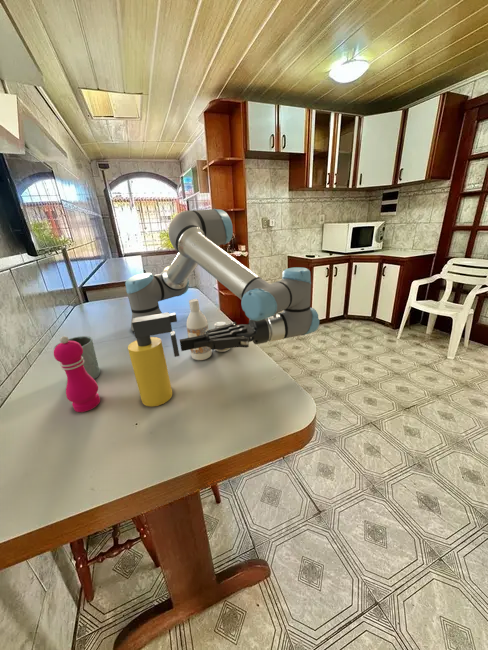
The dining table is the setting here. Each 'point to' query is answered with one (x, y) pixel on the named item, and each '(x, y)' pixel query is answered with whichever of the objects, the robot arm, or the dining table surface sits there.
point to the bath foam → (197, 330)
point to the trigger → (174, 343)
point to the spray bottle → (151, 358)
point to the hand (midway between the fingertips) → (180, 345)
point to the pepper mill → (76, 376)
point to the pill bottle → (217, 327)
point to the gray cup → (88, 355)
